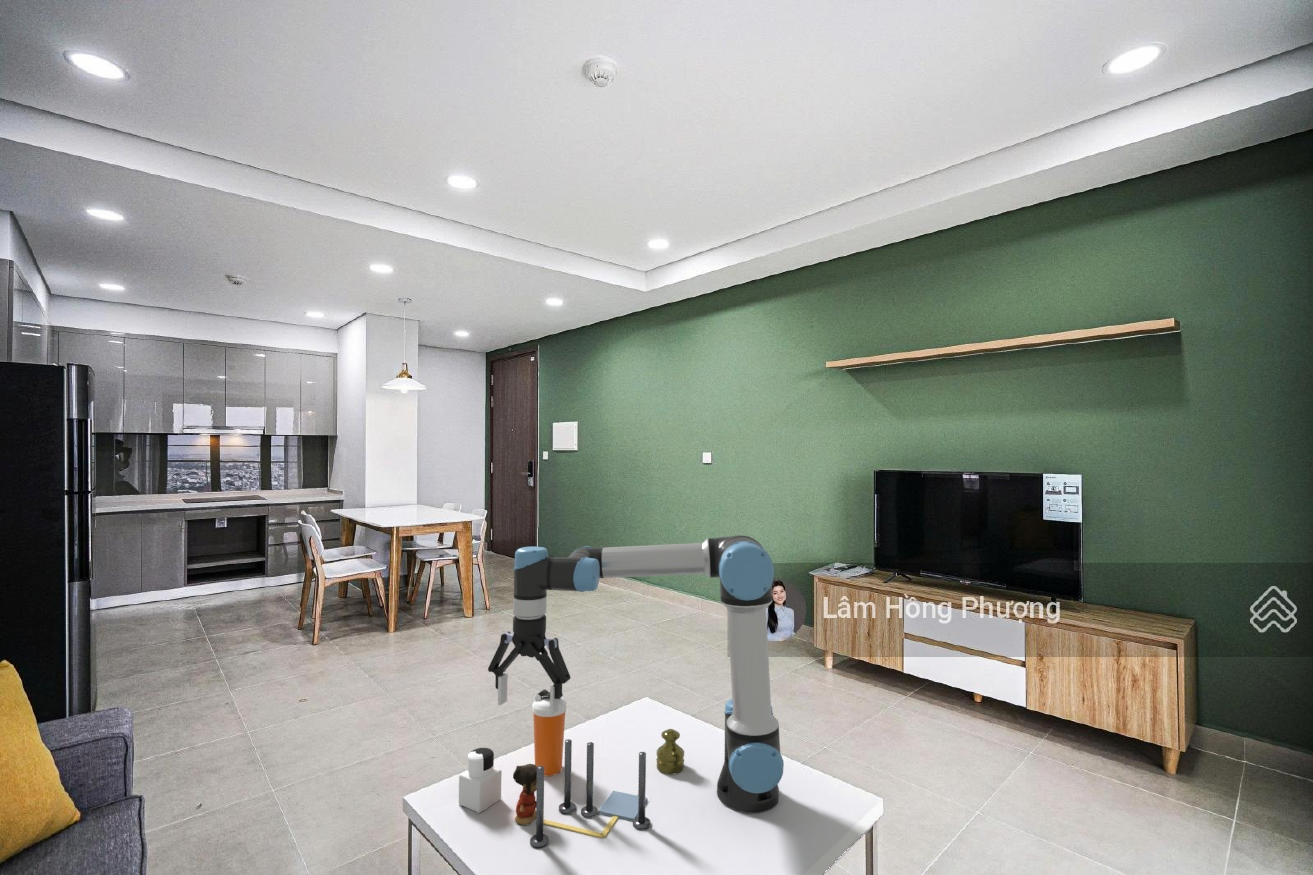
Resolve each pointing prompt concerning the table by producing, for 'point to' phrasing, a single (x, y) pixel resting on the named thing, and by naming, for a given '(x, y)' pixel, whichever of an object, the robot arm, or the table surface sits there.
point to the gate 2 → (641, 820)
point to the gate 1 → (564, 808)
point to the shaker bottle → (548, 733)
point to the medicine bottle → (480, 781)
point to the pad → (621, 806)
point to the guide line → (584, 831)
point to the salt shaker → (670, 754)
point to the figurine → (526, 793)
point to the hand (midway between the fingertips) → (527, 707)
